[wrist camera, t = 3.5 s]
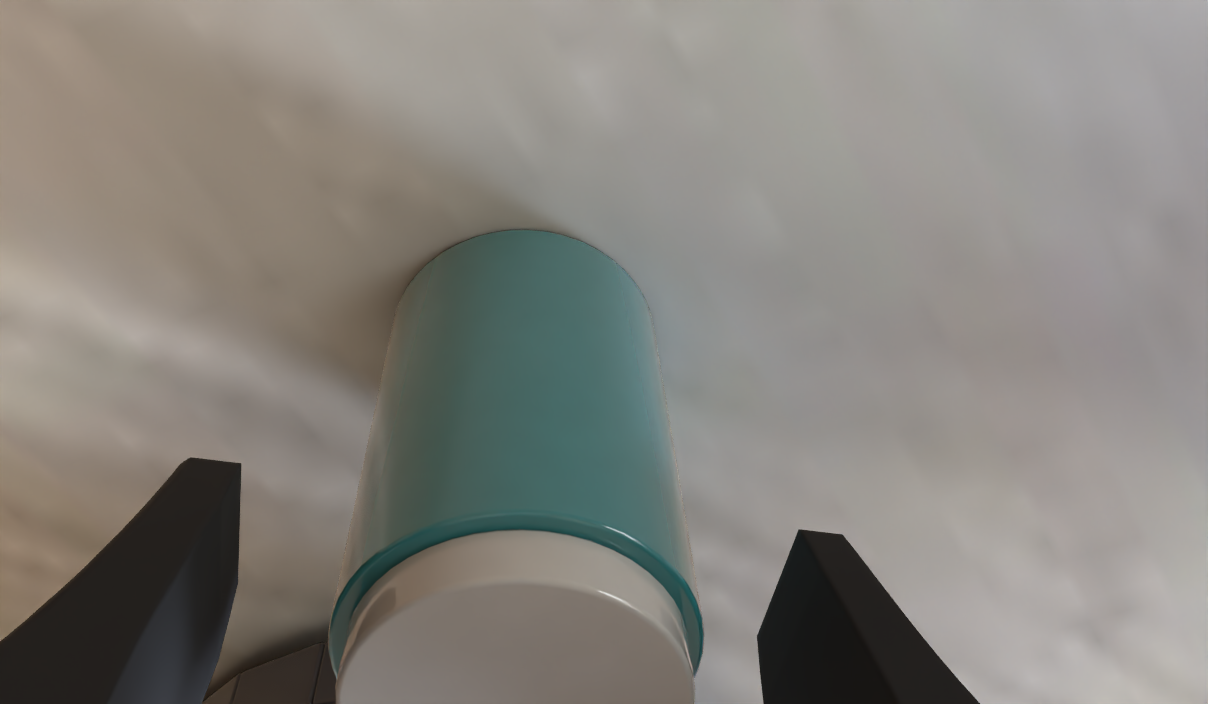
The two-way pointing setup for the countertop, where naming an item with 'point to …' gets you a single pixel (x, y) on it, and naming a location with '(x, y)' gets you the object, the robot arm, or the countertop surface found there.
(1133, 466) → the countertop surface
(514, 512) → the salt shaker
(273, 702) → the pan
